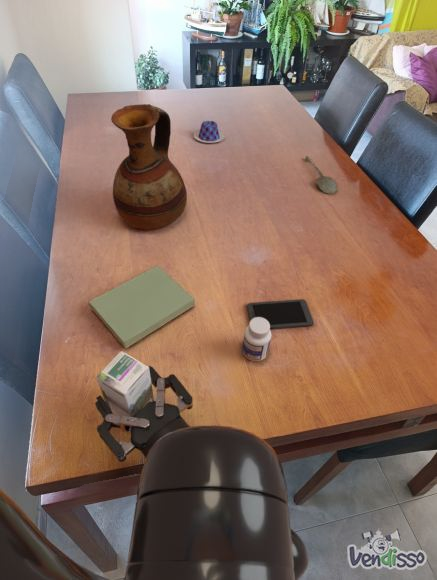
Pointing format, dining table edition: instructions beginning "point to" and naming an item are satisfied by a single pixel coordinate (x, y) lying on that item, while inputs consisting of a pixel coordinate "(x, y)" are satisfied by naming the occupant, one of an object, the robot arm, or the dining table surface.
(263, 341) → the pill bottle
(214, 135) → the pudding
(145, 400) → the syrup box
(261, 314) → the cell phone
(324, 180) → the soupspoon
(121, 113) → the ceramic pitcher
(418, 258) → the dining table surface
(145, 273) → the green flat block
